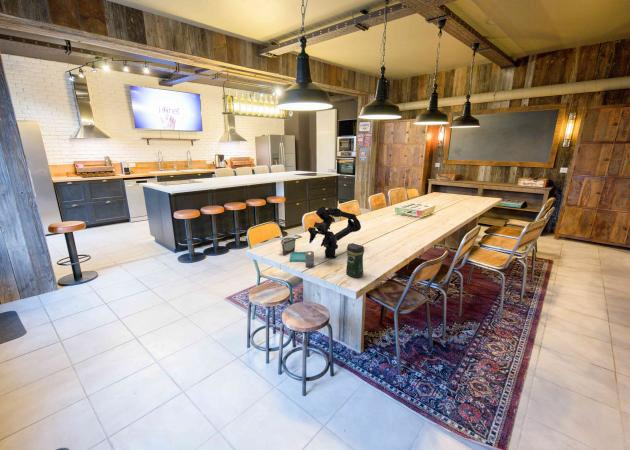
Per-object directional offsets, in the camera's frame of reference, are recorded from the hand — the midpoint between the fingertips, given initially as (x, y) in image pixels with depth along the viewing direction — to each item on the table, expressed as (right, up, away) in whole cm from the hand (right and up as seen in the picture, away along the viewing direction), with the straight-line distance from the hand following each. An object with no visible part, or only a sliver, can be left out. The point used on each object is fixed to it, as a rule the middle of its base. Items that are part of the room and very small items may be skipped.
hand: (315, 244), depth 183 cm
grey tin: (-4, -13, -1) cm, 14 cm away
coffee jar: (+23, -17, -13) cm, 31 cm away
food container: (-20, -7, +22) cm, 31 cm away
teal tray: (-10, -10, +12) cm, 18 cm away
